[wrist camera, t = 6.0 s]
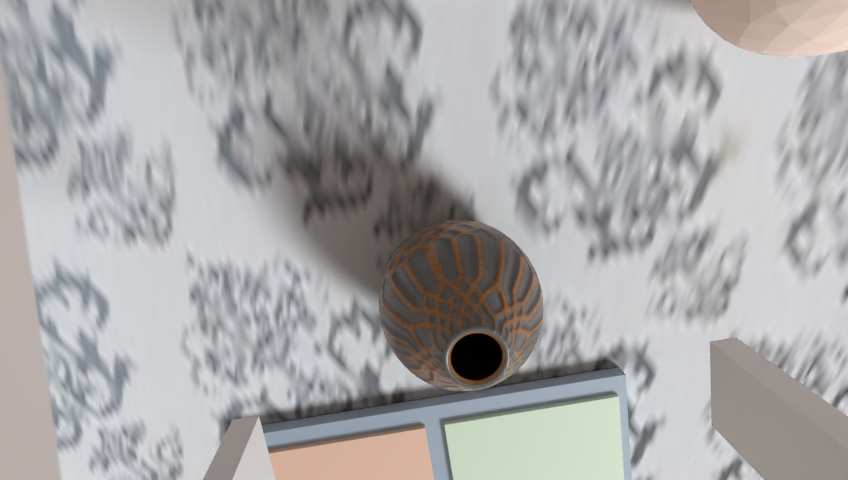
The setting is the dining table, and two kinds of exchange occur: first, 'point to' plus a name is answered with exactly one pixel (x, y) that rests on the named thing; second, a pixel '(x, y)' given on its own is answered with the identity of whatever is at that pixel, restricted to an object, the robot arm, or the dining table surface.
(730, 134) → the dining table surface
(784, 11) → the egg
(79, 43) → the dining table surface
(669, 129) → the dining table surface
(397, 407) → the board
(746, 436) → the robot arm
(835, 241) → the dining table surface
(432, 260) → the vase
